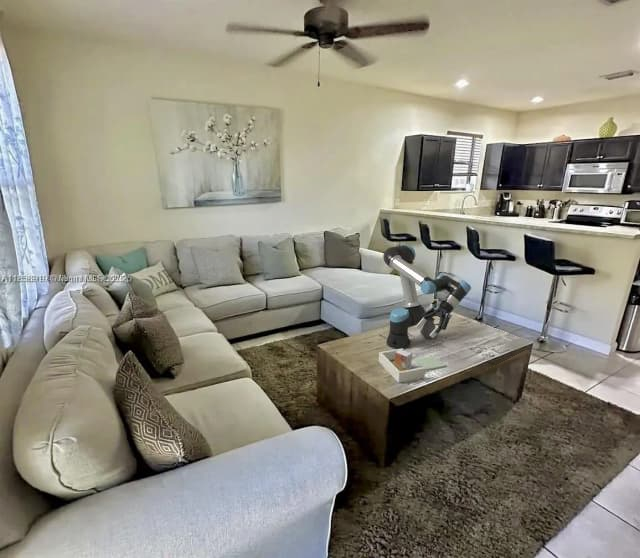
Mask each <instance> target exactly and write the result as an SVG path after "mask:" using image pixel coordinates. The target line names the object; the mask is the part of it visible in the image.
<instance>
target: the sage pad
mask: <svg viewBox="0 0 640 558" xmlns="http://www.w3.org/2000/svg"><path fill="white" fill-rule="evenodd" d="M413 362H415V364H416V365H418V366H419V368H422V367H424V368H425V372H427V371H432V370H436V369H442V368H446V367H447V365H446V363H444V362H443V361H441V360H440V359H439V358H438V357H437V356H435V355H432V356H426V357H419V358H414V359H413Z"/></svg>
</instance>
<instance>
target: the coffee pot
mask: <svg viewBox="0 0 640 558" xmlns="http://www.w3.org/2000/svg"><path fill="white" fill-rule="evenodd" d="M435 319H436V318H434V317H431V318H429V319H427V321H426V322H425V323H424V324H423V325H422V327H421V328H420V330H419V331H420V334H421V336H423V338H425V339H433V338H432V337H431V336H430V334H431V333H432V332H433V331H434V329H435V328H436V327H437V326H439V323H435ZM437 335H438V334H436V336H437Z"/></svg>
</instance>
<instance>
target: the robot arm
mask: <svg viewBox="0 0 640 558" xmlns="http://www.w3.org/2000/svg"><path fill="white" fill-rule="evenodd" d="M382 256H383V257H382V259H383V262H384V263H385V264H386V265H387V267H389V268H390V269H392V270H393V269H394V270H396V271H397V272H398V273H399V278H400V283H401V288H402V293H403V298H404V303H405V304H404V305H403V307H400V308H399V307H398V308H394V309H392V310H391V312H390V316H389V332H388V336H387V338H386V345H387V346H388V347H389V348H392V349H394V350H396V349H402V348H403V349H408V348H409V347H410V346H411V345H410V344H411V340H410V337H409V333H408V332H409V331H408V330H409V328H412V327H414V326H415V327H417V328H418V329H420V330H421V329H422V327H423V325H424V324H425V322H426V321H427V319H429V318H431V317H432V318H434V317H438V318H439V322H438V324H439V325H436V326H435V327H436V328H435V329H434V331H433V332H432V333H431V334H430V336H431V337H432V338H431V339H434V338H435V337H437V335H438V334H439V333H440V332H441V331H442V330H444V331H446V330H447V327H448V325H449V322H450V320H451V318H452V316H453V315H452V314H451V313H452V312H453V311H454V310H455V308H456V307H457V306H458V305H459V304H460V302H462V300H463V299H464V298H465V297H466V296H467V295H468V293H470V291H471V290H472V287H471V285H470V284H469V283H468V282H467V281H466V280H462V279H461V280H460V281H457V280H455V279H453V278H452V277H450V276H448V275H446V274H444V273H440V274H439V275H438V276H436V278H434V279H433V278H431V277H429V276H428V275H427V274H425V273H424V272H422V271H421V270H419V269H418V268H416V267H415V266H413V265H414V260H415V259H416V251H415V249H414V248H413V246H411V245H410V244H401V245H397V246H396V245H395V246H390V247H387V249H386V250H385V251H384V252H383V255H382ZM416 285H417V286H419V287H420V291H421V292H422V294H424V295H433V294H435V293H436V294H437V293H439V292H444V291H445V292H448V294H447V295H446V296H445V297H444V300H442V301H441V302H440V304H439V306H437V305H433V307H431V308H430V309H428V310H426V308H425V307H424V306H422V303H421V302H419V299H418V293H417V288H416ZM436 334H437V335H436Z"/></svg>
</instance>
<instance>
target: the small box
mask: <svg viewBox="0 0 640 558" xmlns="http://www.w3.org/2000/svg"><path fill="white" fill-rule="evenodd" d="M412 360H413V353H411V352H409V351H407V350H402V349H399V350H398V351H396V352H395V360H394V361H393V362H394V363H393V365H394V366H395V367H396V368H397V369H398V370H399V371H406V370H411V369H412Z"/></svg>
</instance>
